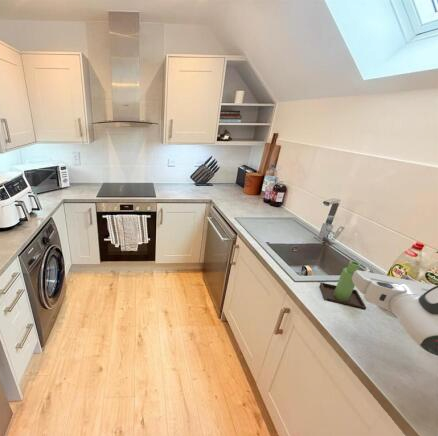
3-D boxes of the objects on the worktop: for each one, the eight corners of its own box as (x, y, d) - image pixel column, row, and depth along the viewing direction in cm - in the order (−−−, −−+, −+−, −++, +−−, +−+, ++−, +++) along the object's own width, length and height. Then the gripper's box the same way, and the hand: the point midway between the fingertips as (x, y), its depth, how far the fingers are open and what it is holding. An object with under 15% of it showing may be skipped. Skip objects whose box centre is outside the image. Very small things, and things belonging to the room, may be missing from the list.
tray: (354, 294, 102) (356, 290, 101) (364, 312, 93) (366, 307, 92) (319, 286, 107) (320, 282, 106) (325, 302, 97) (326, 298, 96)
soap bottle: (346, 294, 100) (360, 261, 94) (350, 302, 96) (365, 268, 89) (331, 291, 102) (344, 258, 96) (334, 299, 98) (349, 265, 91)
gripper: (467, 303, 60) (433, 272, 72) (366, 282, 67) (350, 257, 79) (454, 321, 62) (423, 289, 74) (358, 299, 70) (344, 273, 82)
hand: (385, 272), depth 77 cm, fingers open, 8 cm apart
